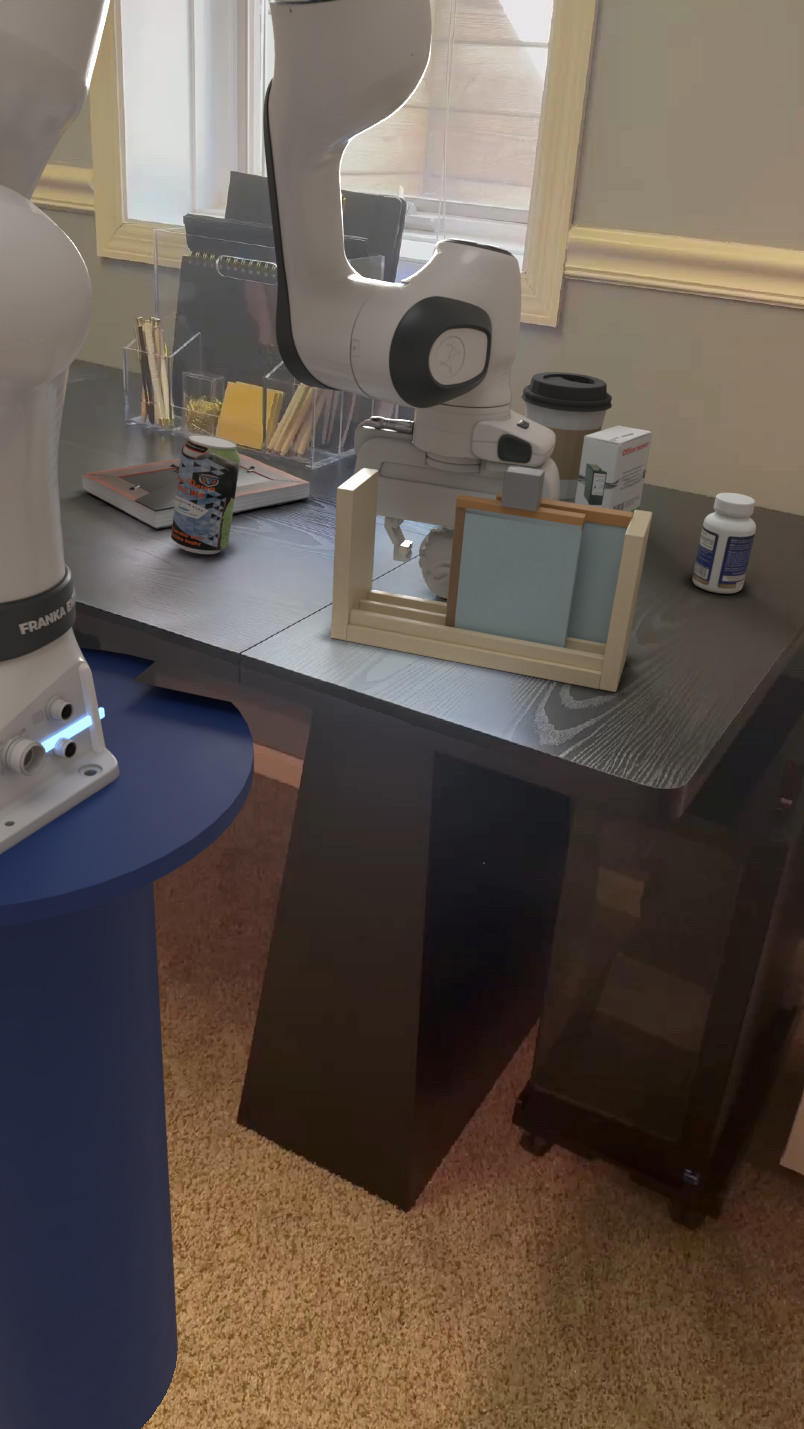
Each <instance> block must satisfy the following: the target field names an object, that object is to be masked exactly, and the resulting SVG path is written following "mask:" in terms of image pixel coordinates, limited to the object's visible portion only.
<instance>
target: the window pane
mask: <svg viewBox="0 0 804 1429" xmlns="http://www.w3.org/2000/svg"><path fill="white" fill-rule="evenodd" d="M544 475H545V471H544V470H539V469H532V468H525V467H518V466H511V465H510V466H509V467H508V468H507V469H506V471H505V474H504V482H503V491H502V500H501V501H498V500H492V499H485V498H479V497H473V496H466V495H459V496H458V497H457V499H456V509H455V521H454V532H453V543H452V553H451V564H450V575H449V586H448V597H447V599H446V603H447V607H446V618H445V626H448V627H454V628H459V629H465V630H470V631H475V632H481V633H486V634H492V635H497V636H502V637H508V638H513V639H519V640H524V641H530V642H535V643H540V644H546V645H551V646H557V647H562V648H566V642H567V635H568V629H569V622H570V615H571V609H572V602H573V596H574V589H575V583H576V576H577V569H578V563H579V556H580V550H581V543H582V537H583V530H584V524H585V517H586V514H582V513H575V512H569V511H563V510H556V509H550V508H543V507H539V506H540V505H541V498H542V490H543V482H544Z"/></svg>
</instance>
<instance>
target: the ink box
mask: <svg viewBox="0 0 804 1429" xmlns="http://www.w3.org/2000/svg"><path fill="white" fill-rule="evenodd" d="M652 438H653V432H652V431H650V430H646V429H641V428H634V427H630V426H629V427H628V426H624V425H619V424H617V425H614V426H611V427H608V428H605V429H601V431H599V432H595V433H592V434H589V435H586V436H584V443H583V450H582V457H581V464H580V471H579V477H578V485H577V491H576V498H575V503H576V504H582V505H589V506H595V507H602V508H608V509H615V510H621V511H628V512H633V514H634V511H635V510H640V507H641V501H642V497H643V490H644V484H645V478H646V472H647V467H648V460H649V454H650V449H651V444H652Z"/></svg>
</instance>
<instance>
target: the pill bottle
mask: <svg viewBox="0 0 804 1429" xmlns="http://www.w3.org/2000/svg"><path fill="white" fill-rule="evenodd" d="M755 506H756V500H755V499H754V498H753V497H751V496H749V495H746V494H742V493H736V492H720V493H718V494H716V496H715V499H714V504H713V510H714V512H711V513H709V514H707V516H706V517H705V518H704V520H703V523H702V529H701V533H700V539H699V543H698V547H697V553H696V558H695V562H694V567H693V573H692V577H691V578H692V583H693V584H694V586H696V588H697V587H698V588H699V589H701V590H703V591H706V592H710V593H715V594H722V595H731V594H736V593H738V592H740V591H741V590H742V589H743V587H744V584H745V579H746V576H747V571H748V566H749V562H750V557H751V553H752V548H753V544H754V540H755V535H756V532H757V524H756V521H754V519H752V518H751V516H752V515H753V514H754V511H755Z"/></svg>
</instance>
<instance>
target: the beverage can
mask: <svg viewBox="0 0 804 1429" xmlns="http://www.w3.org/2000/svg"><path fill="white" fill-rule="evenodd" d="M237 447H238V446H237V443H235V442H234V441H232V440H229V439H226V438H223V437H219V436H216V435H215V436H214V435H207V434H190V435H189V436H188V440H187V442H186V443H185V444H184V445H183V446H182V447H181V451H180V458H179V459H180V467H179V475H178V483H177V491H176V500H175V508H174V516H173V524H172V526H171V533H170V537H171V539H172V541H174V543H176V544H177V547H179V548H180V549H182V550H184V551H186V552H190V553H193V554H199V555H215V554H216V555H217V554H218V553H220V552H221V551H222V550H225V549H227V548H228V546H229V542H230V534H231V528H232V522H233V521H232V520H233V515H234V514H233V508H234V501H235V494H236V487H237V480H238V473H239V466H240V456H239V454H238V453H239V451H238V449H237Z"/></svg>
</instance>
